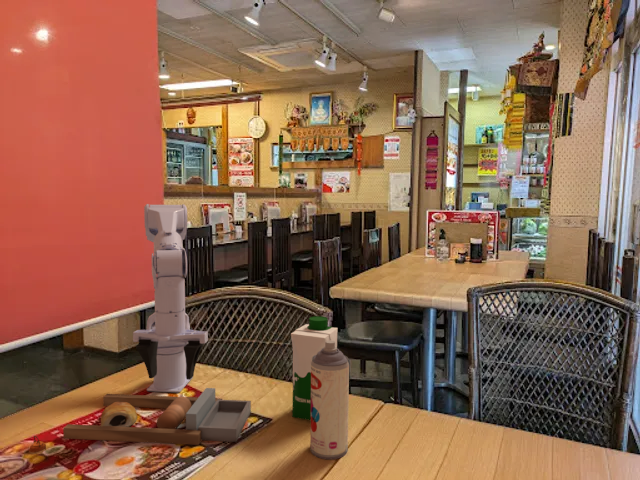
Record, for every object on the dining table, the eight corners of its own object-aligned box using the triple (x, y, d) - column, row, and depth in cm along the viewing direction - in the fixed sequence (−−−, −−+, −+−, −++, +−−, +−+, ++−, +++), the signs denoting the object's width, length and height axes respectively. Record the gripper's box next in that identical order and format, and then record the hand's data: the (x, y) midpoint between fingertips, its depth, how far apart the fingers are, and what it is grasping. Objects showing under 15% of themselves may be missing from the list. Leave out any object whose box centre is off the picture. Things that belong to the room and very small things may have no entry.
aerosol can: (307, 441, 87) (308, 337, 85) (342, 438, 88) (344, 335, 87) (313, 461, 80) (314, 348, 79) (351, 457, 82) (353, 346, 80)
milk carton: (340, 407, 101) (341, 318, 99) (325, 426, 93) (326, 328, 91) (303, 401, 104) (304, 313, 103) (285, 418, 96) (286, 323, 94)
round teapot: (25, 455, 82) (24, 441, 81) (33, 446, 85) (32, 432, 84) (43, 454, 82) (42, 440, 82) (50, 445, 85) (49, 431, 85)
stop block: (206, 410, 99) (206, 387, 99) (215, 410, 99) (215, 388, 99) (186, 439, 87) (185, 413, 87) (196, 439, 87) (196, 414, 87)
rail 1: (107, 402, 103) (107, 393, 103) (222, 407, 101) (222, 398, 101) (103, 405, 101) (103, 396, 101) (220, 410, 99) (220, 401, 99)
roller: (171, 411, 98) (175, 394, 97) (189, 416, 98) (193, 399, 97) (154, 430, 90) (159, 411, 89) (174, 436, 90) (178, 416, 89)
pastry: (101, 413, 98) (101, 396, 98) (136, 408, 101) (135, 391, 100) (100, 434, 89) (99, 415, 89) (137, 428, 92) (137, 409, 92)
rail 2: (68, 434, 89) (68, 424, 89) (201, 440, 87) (201, 430, 87) (63, 438, 87) (63, 428, 87) (198, 444, 85) (198, 434, 85)
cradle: (217, 410, 99) (217, 399, 99) (250, 412, 99) (250, 400, 99) (198, 440, 87) (198, 427, 87) (236, 441, 87) (236, 429, 86)
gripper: (124, 313, 88) (126, 383, 89) (199, 315, 87) (200, 385, 88) (141, 306, 95) (143, 370, 96) (210, 307, 94) (211, 372, 95)
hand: (171, 377), depth 93 cm, fingers open, 7 cm apart
